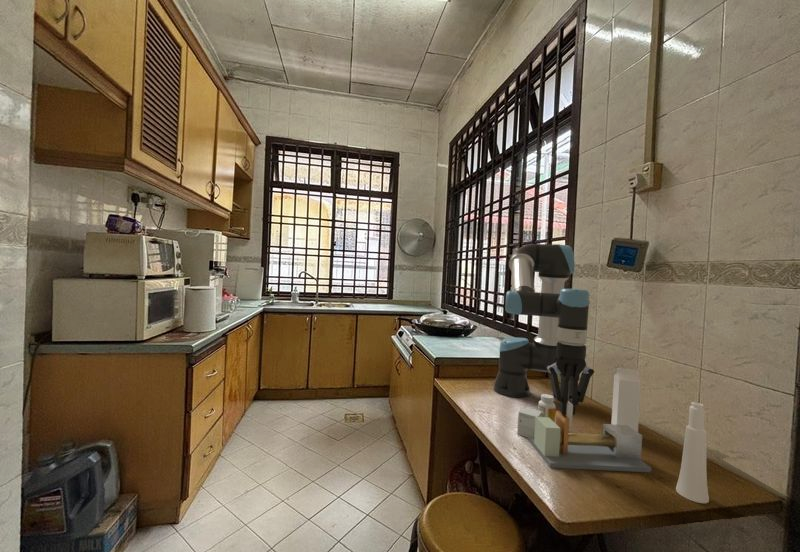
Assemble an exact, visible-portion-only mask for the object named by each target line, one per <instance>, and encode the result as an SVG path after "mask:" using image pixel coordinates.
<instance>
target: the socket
mask: <svg viewBox="0 0 800 552" xmlns="http://www.w3.org/2000/svg"><path fill="white" fill-rule="evenodd" d="M560 430H561V428H560V427H559V426H558V425H556V422H555V423H554V422H553V421H552V420H551V419H550V418H549V417H536V418H535V435H534V444H535V445H536V446H537V447H538V449H539V450H540V451H541V452H542V453H543V455H544V456H556V457H559V447H560Z"/></svg>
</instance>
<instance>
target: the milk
mask: <svg viewBox="0 0 800 552" xmlns="http://www.w3.org/2000/svg"><path fill="white" fill-rule="evenodd" d="M641 384H642V382H641V379H640V377H639V370H638V369H634V368H626V367H624V368H623V367H617V369H616V372H615V374H613V390H612V403H611V404H612V405H611V407H612V409H611V422H610V424H615V425H627V426H629V427H630V428H632V429H633V430H635V431H636V432H638V433H639V423H640V421H639V420H640V404H641V403H640V401H641V388H642V385H641Z"/></svg>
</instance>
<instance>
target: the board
mask: <svg viewBox="0 0 800 552" xmlns="http://www.w3.org/2000/svg"><path fill="white" fill-rule="evenodd" d="M528 441H529V443H530V444H531V446H532V447H533V448H534V450H535V451H536V452H537V453H538V454H539V456H540V457H541V458H542V459H543V461H544V462H545V463H546V464H547V466H548V467H549V468H551V469H569V470H573V469H574V470H592V471H593V470H594V471H595V470H596V471H612V472H613V471H615V472H616V471H617V472H636V473H637V472H638V473H652V467H651V466H650V465H649V464H647V463H646V462H644V461H643V460H642V459H641V460H632V459H616V458H614V457H613V456H612V455H611V454H610V453H608V452H607V451H606V450H605V449H604V448H603V447H600V446H579V445H568V453H567V454H563V453H562V452H561V451H560V450H559V457H556V456H544V455H543V453H542V452H541V451H540V450H539V449H538V447H537V446H536V445H535V444H534V438H533V437H529V439H528Z"/></svg>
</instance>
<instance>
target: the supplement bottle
mask: <svg viewBox="0 0 800 552" xmlns="http://www.w3.org/2000/svg"><path fill="white" fill-rule="evenodd" d="M554 399H555V398H554V396H553V395H551V394H546V393H542V394H541V395H540V400H539V401H538V405H537V406H538V407H537V410H538V411H542V417H549V418H550V419H551V420H552V421H553V422H554V423H555V424H556V408H557V407H556V403H554V401H555V400H554Z"/></svg>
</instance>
